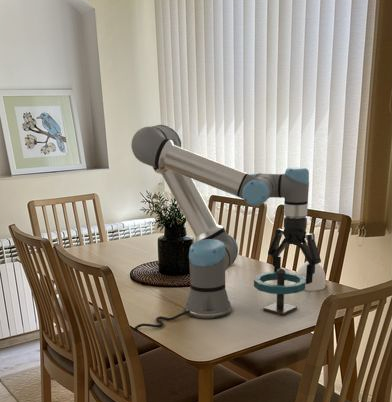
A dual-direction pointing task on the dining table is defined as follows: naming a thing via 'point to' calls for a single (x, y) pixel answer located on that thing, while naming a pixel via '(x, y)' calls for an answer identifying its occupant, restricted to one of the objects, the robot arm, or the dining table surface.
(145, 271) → the dining table surface
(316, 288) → the teardrop
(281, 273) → the ring holder
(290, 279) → the ring
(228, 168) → the robot arm
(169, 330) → the dining table surface
